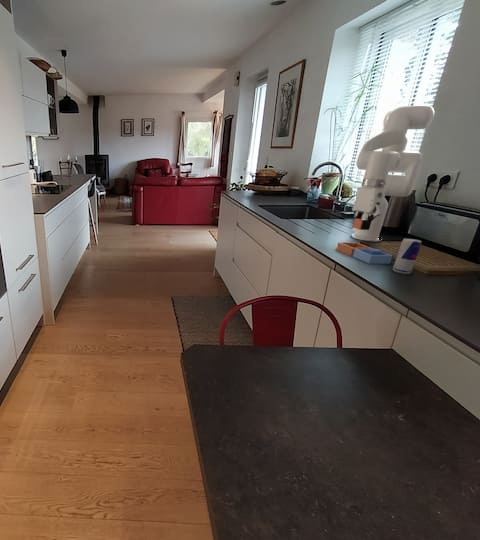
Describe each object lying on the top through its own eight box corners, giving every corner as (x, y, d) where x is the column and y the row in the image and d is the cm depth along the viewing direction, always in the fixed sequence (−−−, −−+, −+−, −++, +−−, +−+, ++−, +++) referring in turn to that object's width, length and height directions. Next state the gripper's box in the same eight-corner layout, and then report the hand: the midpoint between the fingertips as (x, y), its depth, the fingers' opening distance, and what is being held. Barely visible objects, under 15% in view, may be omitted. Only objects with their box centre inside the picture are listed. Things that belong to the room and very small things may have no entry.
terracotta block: (352, 227, 139) (355, 218, 138) (361, 227, 139) (363, 218, 138) (359, 229, 135) (362, 220, 134) (368, 229, 135) (371, 220, 134)
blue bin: (352, 256, 136) (354, 248, 135) (372, 256, 136) (374, 248, 135) (368, 263, 127) (371, 255, 126) (390, 263, 128) (392, 255, 127)
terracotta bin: (336, 249, 145) (338, 242, 144) (355, 249, 146) (357, 242, 144) (350, 255, 137) (352, 248, 136) (370, 255, 137) (372, 248, 136)
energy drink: (411, 275, 116) (423, 243, 112) (392, 272, 119) (403, 240, 115) (410, 271, 120) (421, 240, 116) (392, 268, 123) (402, 237, 119)
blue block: (362, 257, 134) (365, 248, 132) (371, 257, 134) (374, 248, 132) (370, 260, 130) (373, 251, 128) (379, 260, 130) (382, 251, 129)
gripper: (400, 186, 123) (385, 233, 130) (366, 182, 139) (354, 224, 145) (381, 185, 123) (367, 233, 129) (349, 181, 138) (338, 224, 145)
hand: (360, 228), depth 137 cm, fingers closed on terracotta block, 4 cm apart
